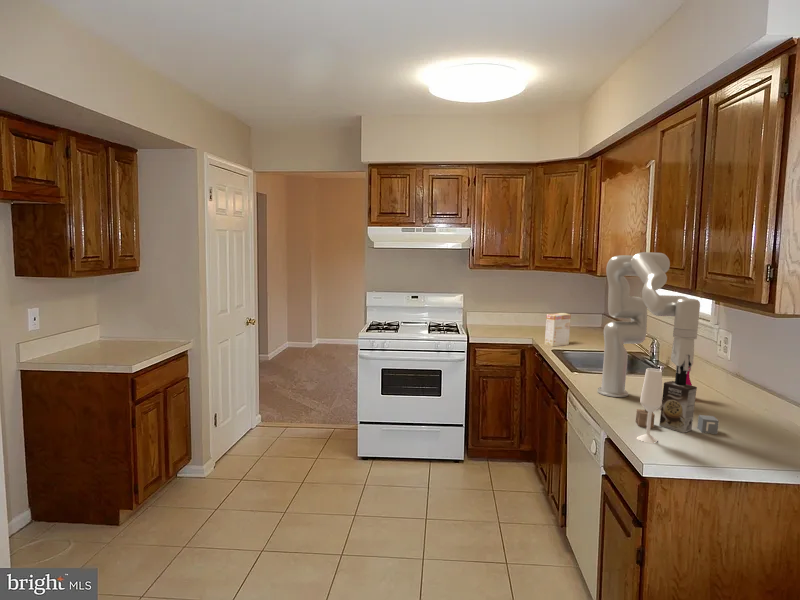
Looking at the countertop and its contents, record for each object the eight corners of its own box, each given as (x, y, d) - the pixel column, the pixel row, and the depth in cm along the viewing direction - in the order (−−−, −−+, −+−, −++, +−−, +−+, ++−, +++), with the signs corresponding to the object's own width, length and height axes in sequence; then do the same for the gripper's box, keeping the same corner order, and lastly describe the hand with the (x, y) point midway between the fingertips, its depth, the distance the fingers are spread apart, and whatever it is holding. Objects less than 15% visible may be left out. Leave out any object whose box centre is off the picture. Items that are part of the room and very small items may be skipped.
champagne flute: (635, 434, 192) (642, 366, 189) (656, 437, 190) (663, 368, 187) (637, 441, 186) (644, 371, 183) (659, 444, 184) (666, 373, 181)
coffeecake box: (560, 342, 356) (562, 312, 353) (569, 344, 350) (571, 314, 347) (543, 344, 348) (546, 313, 345) (552, 346, 342) (554, 315, 339)
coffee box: (658, 425, 203) (662, 382, 201) (667, 422, 206) (672, 380, 204) (683, 433, 195) (688, 388, 193) (692, 430, 199) (697, 386, 197)
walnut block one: (635, 422, 206) (637, 406, 205) (650, 423, 205) (651, 407, 204) (638, 426, 201) (640, 410, 200) (653, 428, 200) (655, 411, 199)
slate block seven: (697, 428, 202) (698, 414, 201) (712, 429, 201) (713, 416, 200) (702, 433, 197) (703, 419, 196) (717, 434, 196) (719, 420, 195)
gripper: (668, 329, 205) (663, 378, 207) (679, 336, 190) (674, 388, 192) (690, 330, 203) (685, 380, 205) (703, 337, 189) (698, 390, 191)
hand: (680, 384), depth 199 cm, fingers closed
